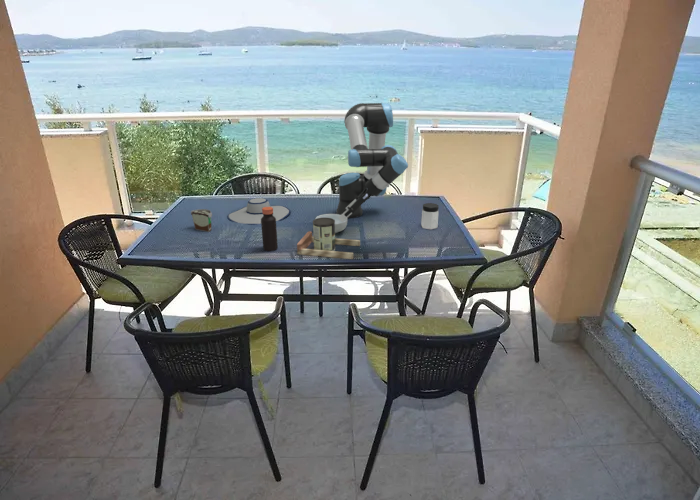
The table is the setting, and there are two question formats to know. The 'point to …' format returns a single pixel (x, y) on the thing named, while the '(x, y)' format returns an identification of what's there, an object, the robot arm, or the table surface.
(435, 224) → the jar
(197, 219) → the food container
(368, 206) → the table surface
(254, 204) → the sun hat
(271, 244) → the bottle
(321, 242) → the coffee can
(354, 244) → the guide
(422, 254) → the table surface
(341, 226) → the cereal bowl
